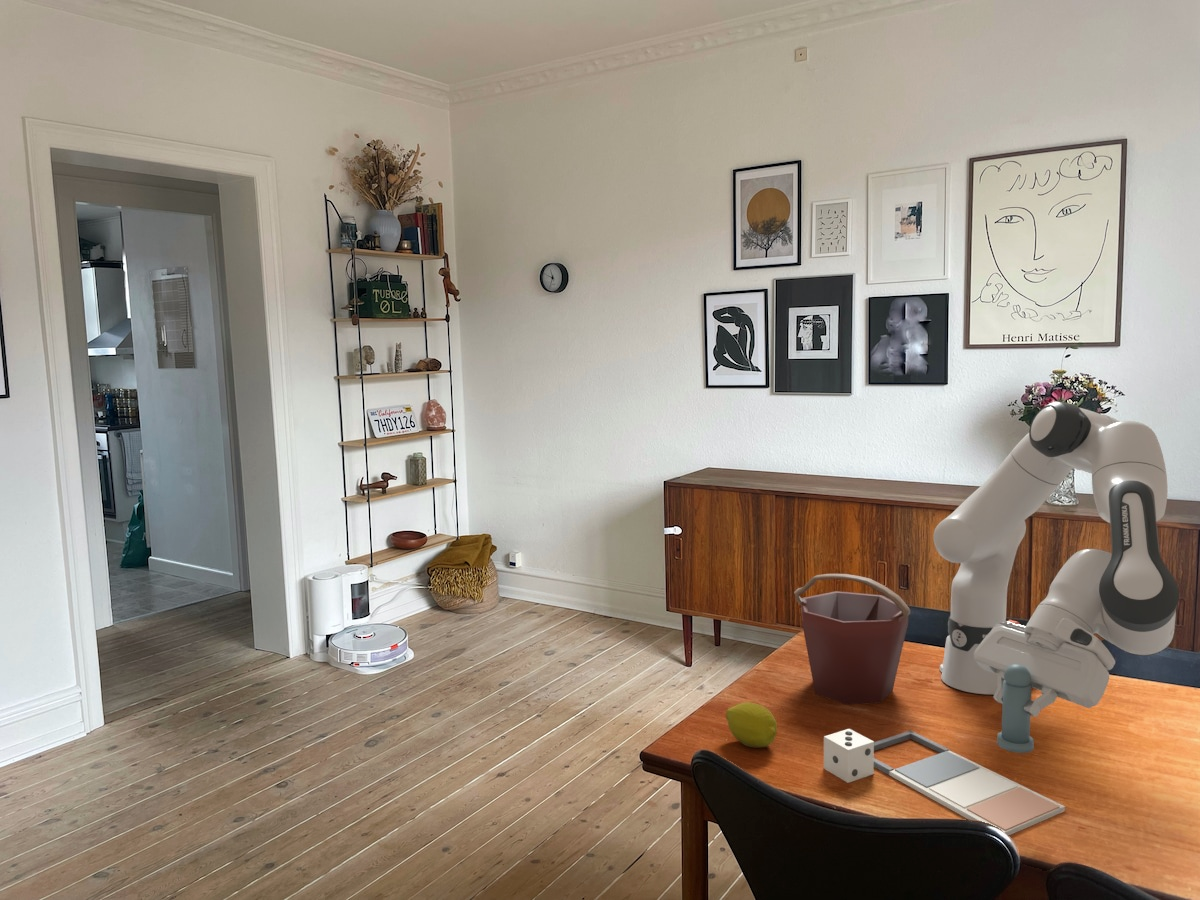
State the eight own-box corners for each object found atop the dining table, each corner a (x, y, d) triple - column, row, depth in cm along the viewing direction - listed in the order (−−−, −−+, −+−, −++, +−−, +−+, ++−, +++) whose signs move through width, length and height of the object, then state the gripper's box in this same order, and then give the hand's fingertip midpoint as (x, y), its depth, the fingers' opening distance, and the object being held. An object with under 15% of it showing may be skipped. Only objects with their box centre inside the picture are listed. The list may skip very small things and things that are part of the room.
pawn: (1011, 735, 141) (1013, 656, 139) (1040, 747, 136) (1043, 667, 135) (989, 742, 139) (992, 663, 137) (1019, 755, 134) (1021, 673, 132)
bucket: (774, 685, 192) (774, 575, 189) (834, 660, 206) (834, 557, 203) (872, 720, 174) (873, 599, 170) (930, 690, 188) (932, 577, 185)
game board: (910, 735, 167) (910, 730, 167) (1064, 811, 139) (1064, 805, 139) (852, 754, 160) (852, 749, 160) (1002, 838, 132) (1002, 832, 132)
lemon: (787, 749, 162) (787, 708, 161) (756, 761, 158) (756, 719, 157) (748, 728, 172) (747, 690, 171) (717, 739, 167) (717, 699, 166)
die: (848, 760, 158) (849, 727, 157) (874, 774, 152) (874, 741, 152) (823, 768, 155) (823, 735, 154) (847, 783, 150) (848, 749, 149)
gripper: (991, 608, 148) (949, 675, 144) (1109, 643, 130) (1065, 720, 126) (1007, 628, 150) (967, 695, 147) (1126, 665, 132) (1083, 742, 129)
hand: (1014, 707), depth 136 cm, fingers closed on pawn, 4 cm apart
